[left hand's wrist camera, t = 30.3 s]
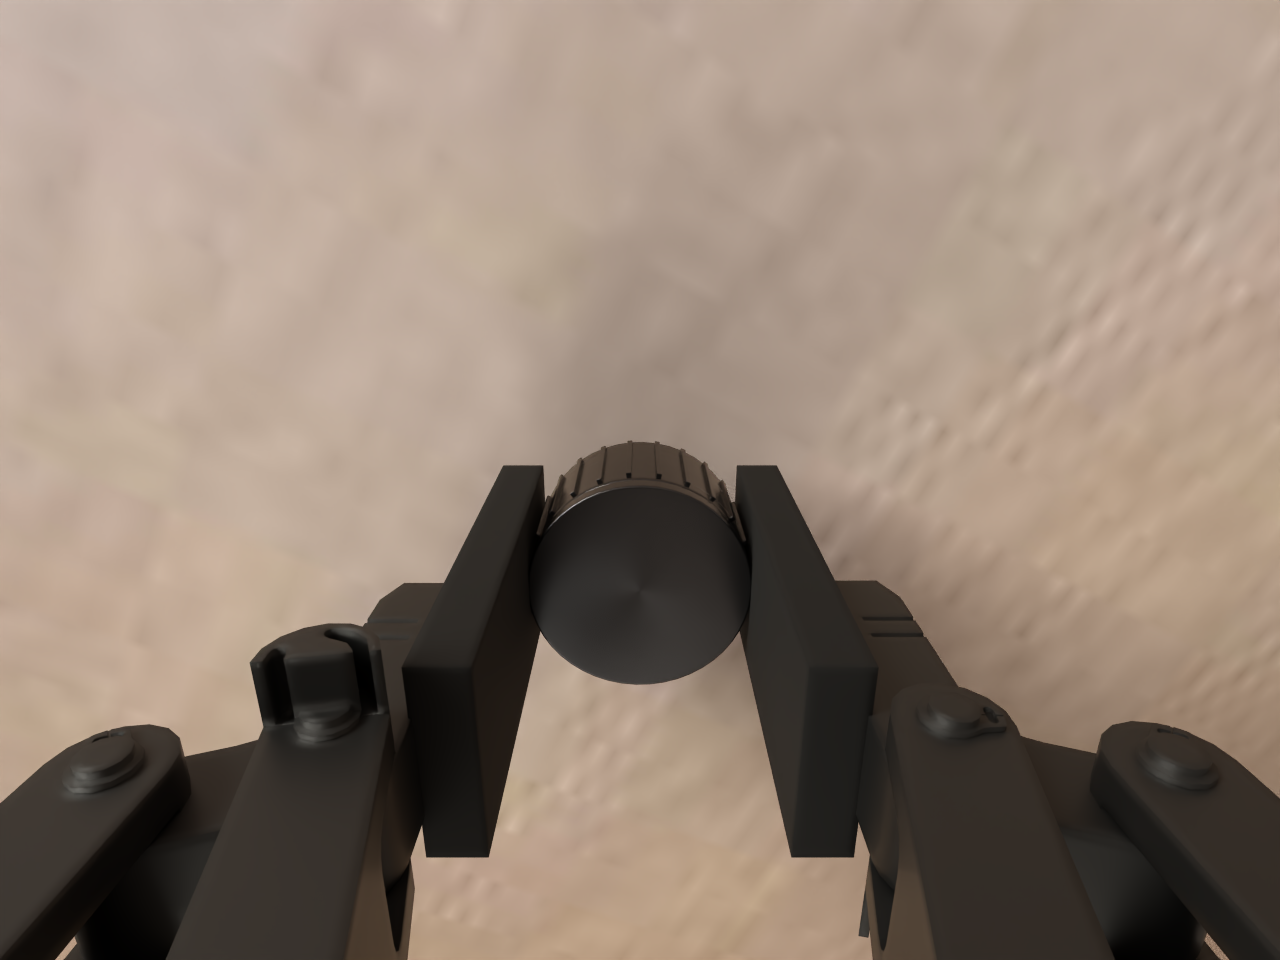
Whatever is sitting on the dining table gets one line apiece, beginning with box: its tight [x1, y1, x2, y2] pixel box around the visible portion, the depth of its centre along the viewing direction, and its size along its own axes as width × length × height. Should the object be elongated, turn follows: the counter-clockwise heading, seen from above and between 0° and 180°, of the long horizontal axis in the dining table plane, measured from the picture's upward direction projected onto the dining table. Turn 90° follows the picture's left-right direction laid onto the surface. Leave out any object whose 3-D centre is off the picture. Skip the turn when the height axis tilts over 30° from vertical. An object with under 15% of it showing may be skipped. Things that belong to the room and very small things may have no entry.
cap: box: [528, 441, 752, 685], centre depth 13 cm, size 4×4×2 cm
